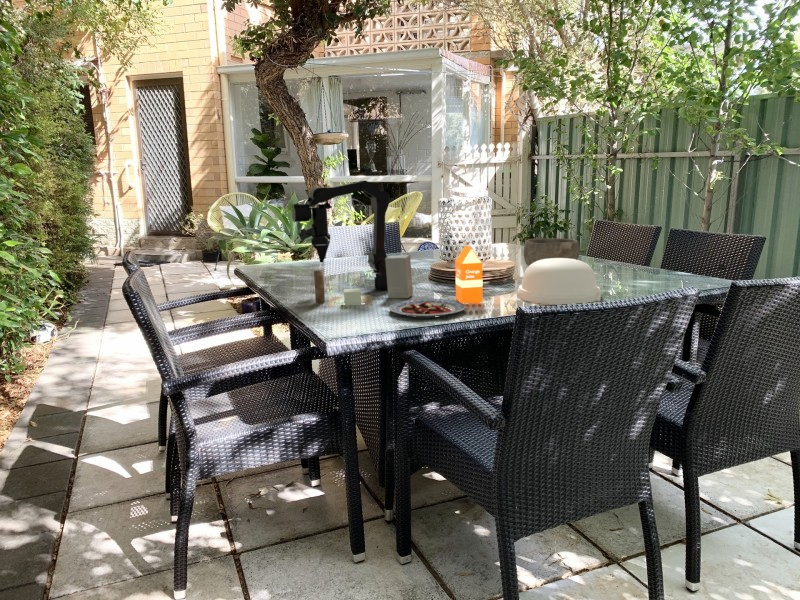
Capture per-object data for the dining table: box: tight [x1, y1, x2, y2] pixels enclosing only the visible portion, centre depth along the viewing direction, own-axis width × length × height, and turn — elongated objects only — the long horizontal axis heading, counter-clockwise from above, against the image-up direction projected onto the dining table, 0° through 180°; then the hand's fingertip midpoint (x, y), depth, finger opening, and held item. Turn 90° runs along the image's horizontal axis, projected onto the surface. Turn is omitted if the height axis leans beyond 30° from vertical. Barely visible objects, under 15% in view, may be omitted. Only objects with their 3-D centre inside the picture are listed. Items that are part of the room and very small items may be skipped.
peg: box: [313, 269, 326, 305], centre depth 229 cm, size 3×3×12 cm
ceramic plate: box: [388, 298, 466, 318], centre depth 211 cm, size 26×26×3 cm
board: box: [327, 294, 373, 308], centre depth 232 cm, size 16×18×1 cm
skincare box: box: [385, 254, 414, 299], centre depth 236 cm, size 8×7×16 cm
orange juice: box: [455, 244, 484, 304], centre depth 224 cm, size 8×9×20 cm
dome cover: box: [517, 258, 602, 306], centre depth 229 cm, size 32×30×14 cm
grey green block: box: [343, 288, 362, 307], centre depth 226 cm, size 6×6×5 cm
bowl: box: [523, 237, 580, 267], centre depth 280 cm, size 24×24×15 cm
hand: (322, 260), depth 243 cm, fingers open, 9 cm apart
